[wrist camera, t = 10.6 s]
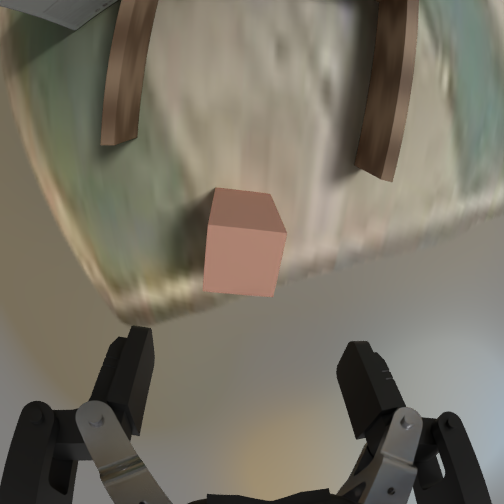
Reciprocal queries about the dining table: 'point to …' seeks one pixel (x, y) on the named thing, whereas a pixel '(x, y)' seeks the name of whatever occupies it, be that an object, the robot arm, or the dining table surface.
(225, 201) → the terracotta block
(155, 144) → the dining table surface
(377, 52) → the u-shaped bracket
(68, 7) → the small box
